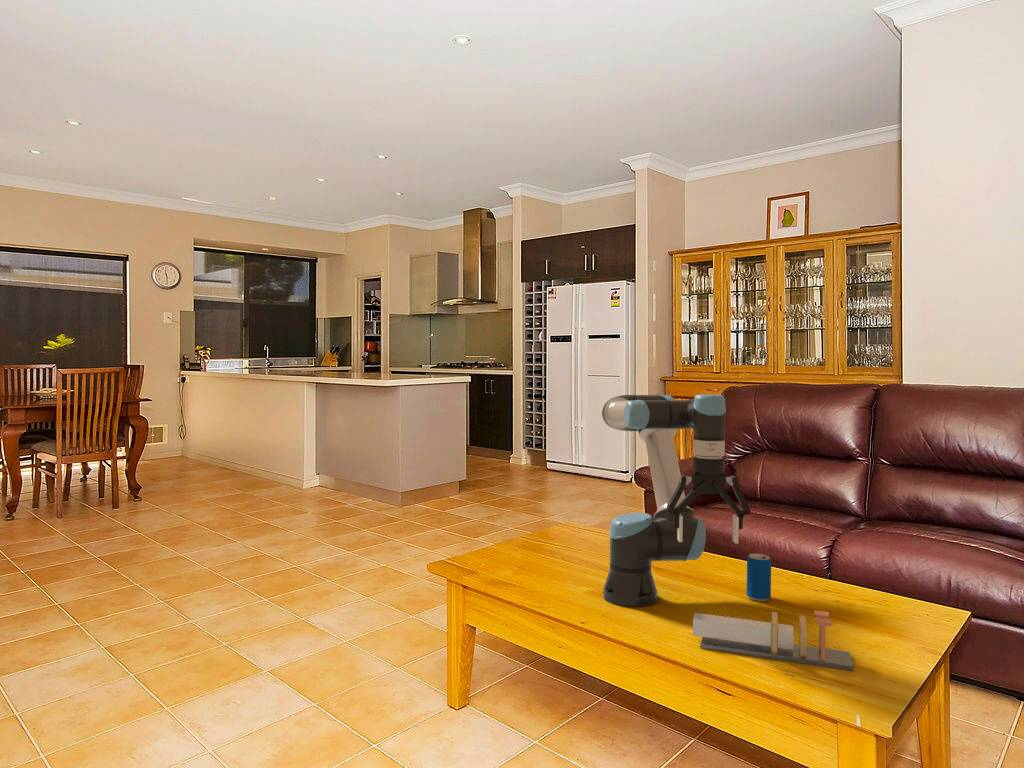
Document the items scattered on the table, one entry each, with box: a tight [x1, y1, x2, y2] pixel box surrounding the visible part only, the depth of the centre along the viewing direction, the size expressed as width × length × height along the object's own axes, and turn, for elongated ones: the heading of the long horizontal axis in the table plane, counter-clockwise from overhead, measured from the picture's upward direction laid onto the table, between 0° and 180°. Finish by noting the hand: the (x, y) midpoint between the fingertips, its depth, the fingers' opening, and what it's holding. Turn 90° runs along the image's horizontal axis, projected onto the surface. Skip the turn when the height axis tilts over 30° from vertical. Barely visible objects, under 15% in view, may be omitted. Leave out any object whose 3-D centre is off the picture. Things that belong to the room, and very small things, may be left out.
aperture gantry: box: [813, 610, 832, 661], centre depth 152 cm, size 3×7×9 cm, turn 159°
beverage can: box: [746, 553, 772, 602], centre depth 192 cm, size 6×6×12 cm
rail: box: [700, 611, 855, 672], centre depth 156 cm, size 32×8×8 cm, turn 69°
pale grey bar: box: [692, 612, 795, 650], centre depth 158 cm, size 22×4×4 cm, turn 69°
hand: (707, 541), depth 169 cm, fingers open, 13 cm apart
